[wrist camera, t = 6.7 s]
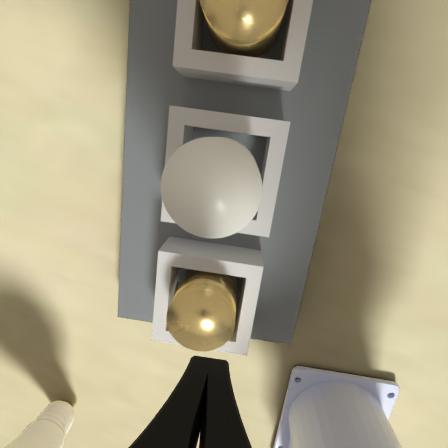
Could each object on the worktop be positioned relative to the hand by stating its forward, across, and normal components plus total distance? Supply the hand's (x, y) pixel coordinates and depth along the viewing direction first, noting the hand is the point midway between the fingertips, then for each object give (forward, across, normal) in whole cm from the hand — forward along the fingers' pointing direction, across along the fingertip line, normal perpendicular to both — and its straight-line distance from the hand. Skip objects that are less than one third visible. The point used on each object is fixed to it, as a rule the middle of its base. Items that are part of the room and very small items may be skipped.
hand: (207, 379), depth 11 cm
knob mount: (+10, +1, -7) cm, 13 cm away
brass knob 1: (+8, +1, +1) cm, 8 cm away
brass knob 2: (+8, +1, -14) cm, 17 cm away
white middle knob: (+5, +1, -7) cm, 9 cm away
